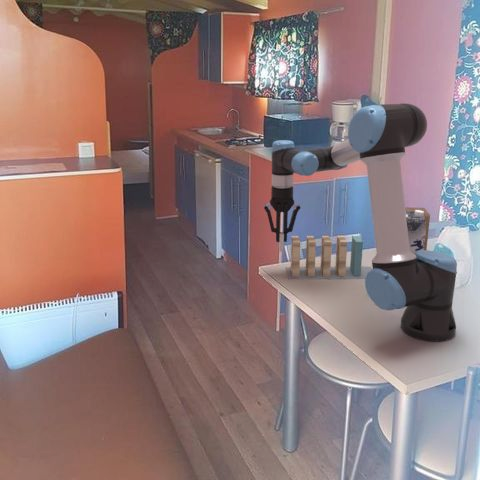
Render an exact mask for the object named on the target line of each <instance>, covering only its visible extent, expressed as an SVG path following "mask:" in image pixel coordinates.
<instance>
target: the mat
mask: <svg viewBox="0 0 480 480" xmlns="http://www.w3.org/2000/svg"><path fill="white" fill-rule="evenodd" d="M320 267H321V266H315V277H308V275H307V272H306V266H300V268H299V277H292V273H291V266H290V267H289V266H287V267H286V266H285V267H284V268H285V271H286V276H287V280H365V278H366V276H367V273H368V272H369V271H370V270H372V269H373V267H372V266H361V276H353V274H352V272H351V270H350V266H346V273H345V276H338V274H337V272H336V270H335V266H330V276H323V275H322V272H321V270H320Z"/></svg>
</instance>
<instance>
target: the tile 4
mask: <svg viewBox="0 0 480 480" xmlns="http://www.w3.org/2000/svg"><path fill="white" fill-rule="evenodd" d="M335 247H336V248H335V250H336V251H335V265H334V267H335V270H336V272H337V274H338V276H345V273H346V267H347V256H348V255H347V253H348V252H347V251H348V241H347V238H346V237H345V236H344V235H337V236H336V246H335Z"/></svg>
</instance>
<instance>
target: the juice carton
mask: <svg viewBox="0 0 480 480" xmlns="http://www.w3.org/2000/svg"><path fill="white" fill-rule="evenodd" d="M405 212H406V221H407V231H408V240H409V249H410V251H411V252H412V253H413V254H414V253H415V252H416V251H418V250H424V245H425V236H426V219H425V218H424V211H421V210H415V211H405Z"/></svg>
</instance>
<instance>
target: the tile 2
mask: <svg viewBox="0 0 480 480" xmlns="http://www.w3.org/2000/svg"><path fill="white" fill-rule="evenodd" d="M305 244H306V247H305V249H306V251H305V267H306V272H307V275H308V277H315V267H316V250H317V249H316V248H317V247H316V246H317V241H316V239H315V237H314V235H306V243H305Z"/></svg>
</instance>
